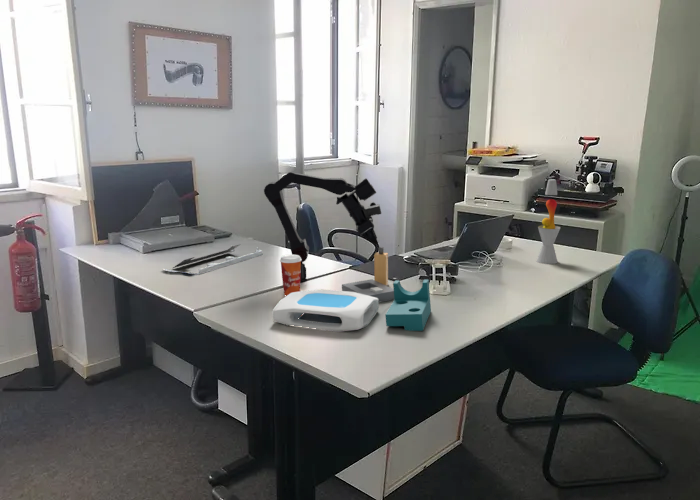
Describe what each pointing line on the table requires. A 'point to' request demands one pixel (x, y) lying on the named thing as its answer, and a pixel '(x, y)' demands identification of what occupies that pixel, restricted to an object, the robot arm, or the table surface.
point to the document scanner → (327, 309)
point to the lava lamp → (549, 228)
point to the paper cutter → (214, 266)
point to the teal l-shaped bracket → (409, 307)
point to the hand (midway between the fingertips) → (376, 241)
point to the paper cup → (291, 273)
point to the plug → (381, 266)
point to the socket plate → (370, 289)
